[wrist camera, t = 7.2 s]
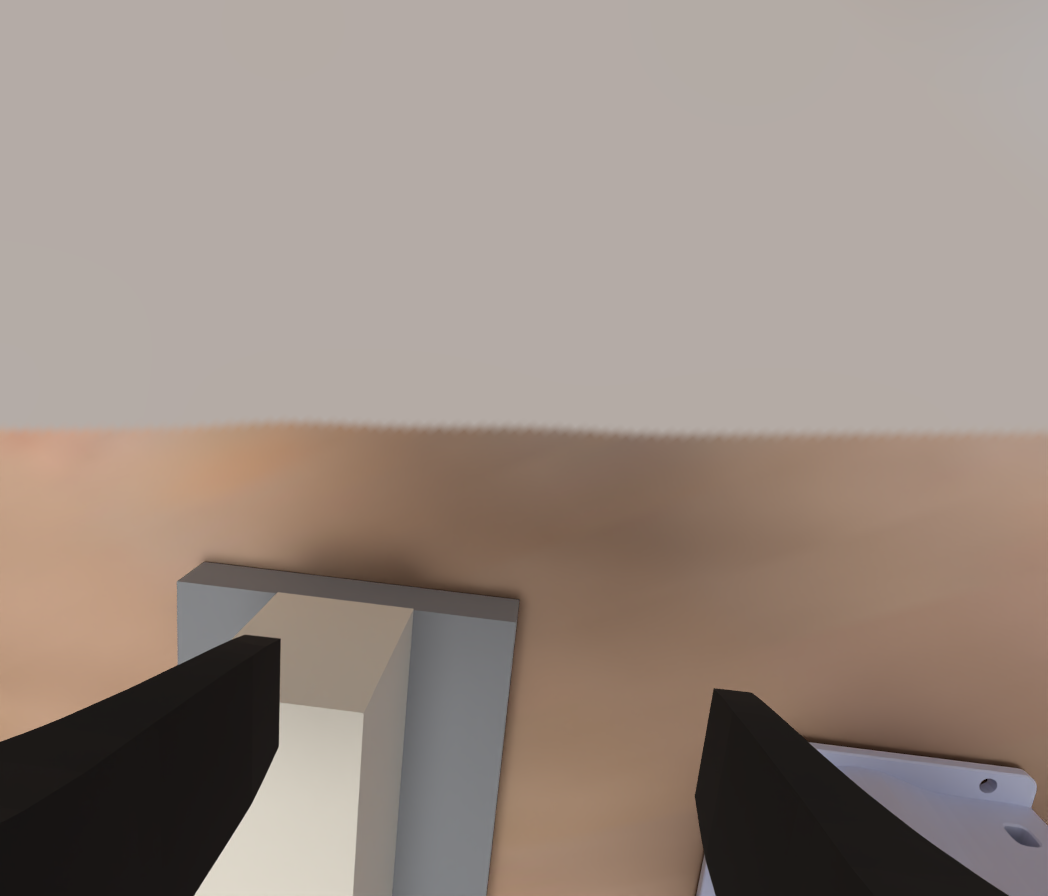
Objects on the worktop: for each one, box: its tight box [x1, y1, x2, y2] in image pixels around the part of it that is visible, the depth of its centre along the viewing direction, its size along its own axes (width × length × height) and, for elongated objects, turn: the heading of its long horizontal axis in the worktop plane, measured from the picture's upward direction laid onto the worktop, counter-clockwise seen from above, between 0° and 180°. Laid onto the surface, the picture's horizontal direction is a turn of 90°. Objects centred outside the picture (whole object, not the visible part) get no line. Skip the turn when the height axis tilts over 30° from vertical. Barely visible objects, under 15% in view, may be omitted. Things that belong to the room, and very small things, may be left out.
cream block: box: [194, 592, 414, 896], centre depth 18 cm, size 4×11×5 cm, turn 174°
